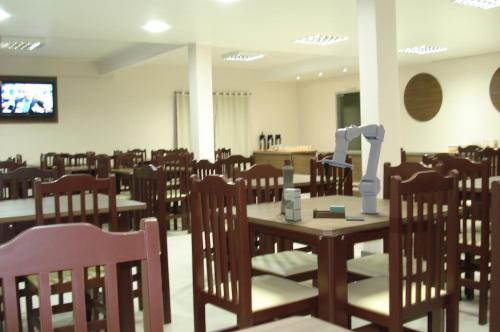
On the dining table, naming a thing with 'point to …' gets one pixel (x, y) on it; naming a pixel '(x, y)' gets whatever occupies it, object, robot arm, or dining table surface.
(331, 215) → the trough
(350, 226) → the dining table surface
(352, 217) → the mat
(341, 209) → the block
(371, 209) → the robot arm
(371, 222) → the dining table surface
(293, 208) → the syrup box
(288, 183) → the bottle
